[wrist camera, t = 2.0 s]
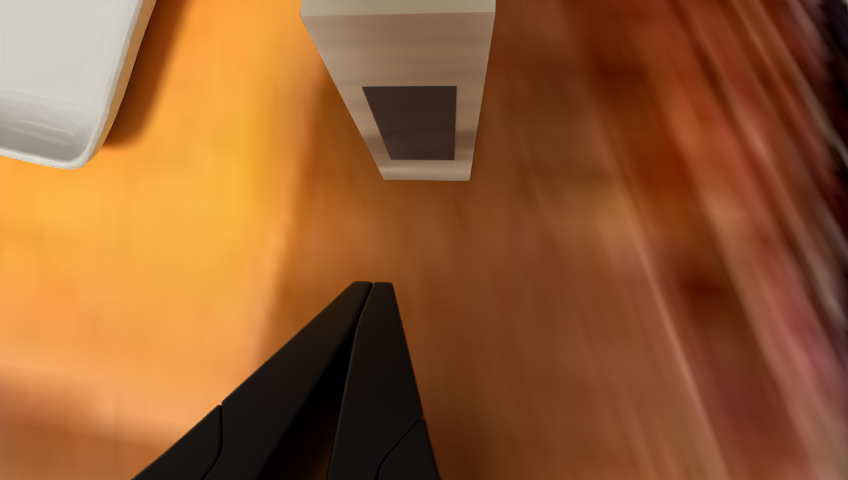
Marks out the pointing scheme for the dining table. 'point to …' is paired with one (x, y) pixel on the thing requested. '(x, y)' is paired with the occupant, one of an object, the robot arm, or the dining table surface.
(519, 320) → the dining table surface
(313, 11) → the metal block
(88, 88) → the square plate
